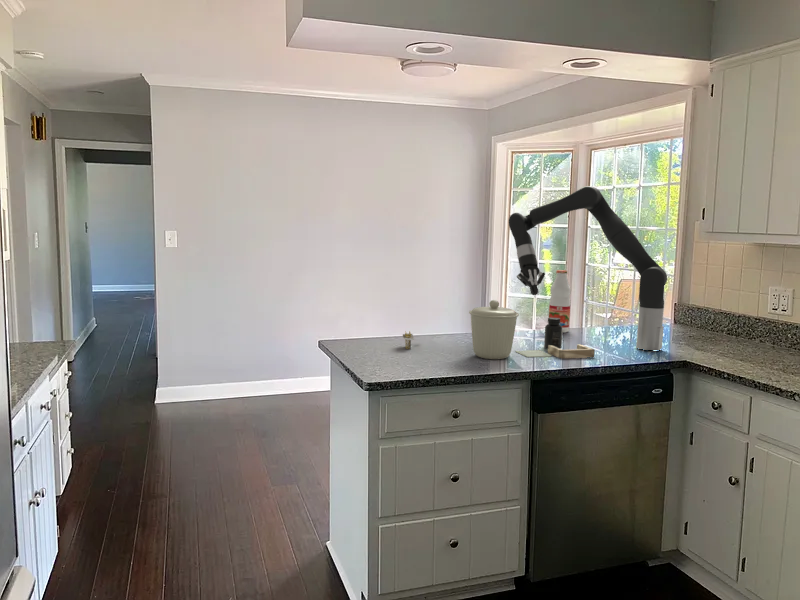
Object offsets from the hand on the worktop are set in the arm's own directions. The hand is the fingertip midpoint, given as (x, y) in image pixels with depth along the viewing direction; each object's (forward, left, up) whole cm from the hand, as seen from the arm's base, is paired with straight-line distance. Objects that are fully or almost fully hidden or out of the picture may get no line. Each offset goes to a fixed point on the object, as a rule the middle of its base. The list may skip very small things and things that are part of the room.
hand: (535, 294), depth 279 cm
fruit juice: (0, -30, -20) cm, 36 cm away
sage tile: (-12, +27, -19) cm, 36 cm away
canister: (-2, +42, -20) cm, 47 cm away
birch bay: (-24, +19, -19) cm, 36 cm away
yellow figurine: (+31, +49, -20) cm, 62 cm away
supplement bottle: (-13, +10, -20) cm, 26 cm away
